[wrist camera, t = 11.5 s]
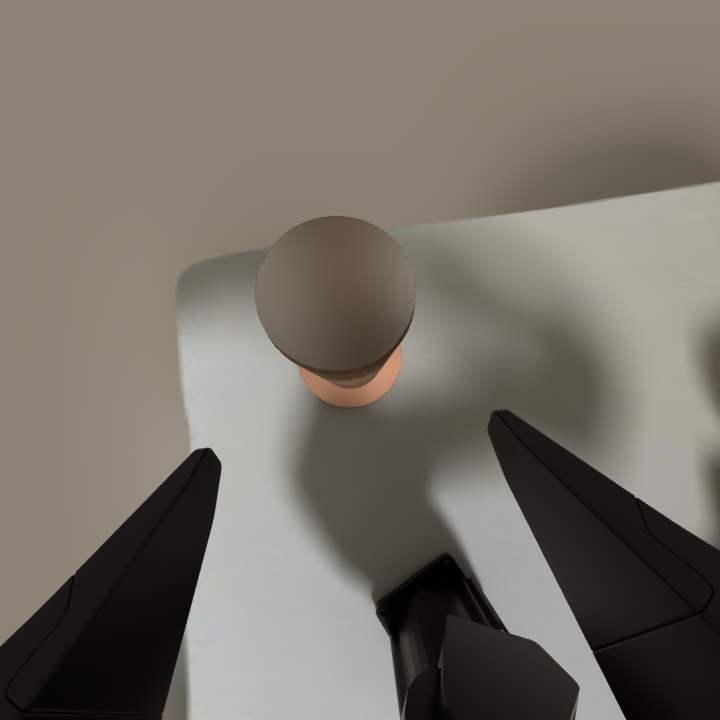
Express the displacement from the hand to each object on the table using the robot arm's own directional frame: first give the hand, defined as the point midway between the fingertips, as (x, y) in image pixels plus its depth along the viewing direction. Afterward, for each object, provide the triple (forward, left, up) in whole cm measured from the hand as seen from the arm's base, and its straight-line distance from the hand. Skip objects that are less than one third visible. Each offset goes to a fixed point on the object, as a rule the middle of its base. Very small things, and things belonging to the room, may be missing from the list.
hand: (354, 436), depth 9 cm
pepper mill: (+2, +4, -12) cm, 13 cm away
